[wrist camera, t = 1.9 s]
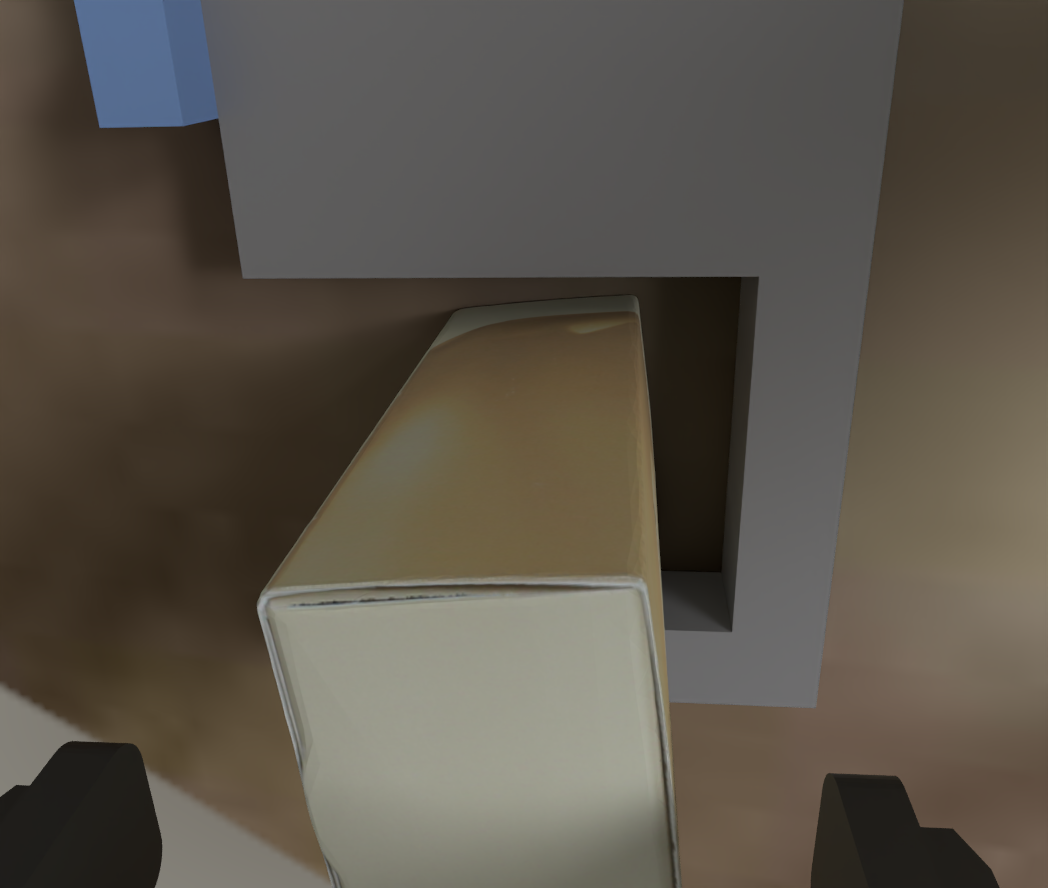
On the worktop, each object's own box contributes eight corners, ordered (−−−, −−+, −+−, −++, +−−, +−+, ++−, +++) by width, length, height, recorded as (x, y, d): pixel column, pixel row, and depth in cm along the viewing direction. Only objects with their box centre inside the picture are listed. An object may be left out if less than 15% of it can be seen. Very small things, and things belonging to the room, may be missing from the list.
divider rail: (955, -796, 13) (1080, -1104, 10) (796, 642, 24) (829, 755, 20) (67, -696, 15) (-116, -932, 11) (279, 625, 25) (220, 727, 21)
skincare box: (659, 534, 23) (694, 1021, 12) (484, 545, 23) (358, 1017, 12) (640, 274, 20) (661, 580, 9) (444, 294, 21) (238, 602, 10)
